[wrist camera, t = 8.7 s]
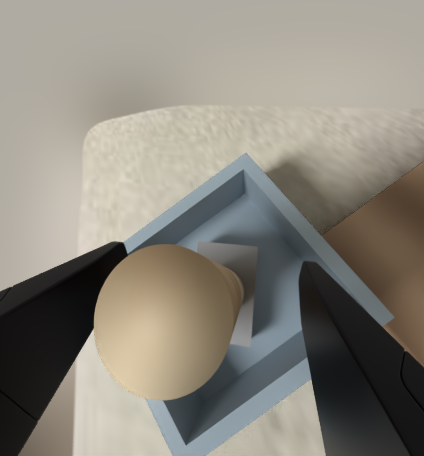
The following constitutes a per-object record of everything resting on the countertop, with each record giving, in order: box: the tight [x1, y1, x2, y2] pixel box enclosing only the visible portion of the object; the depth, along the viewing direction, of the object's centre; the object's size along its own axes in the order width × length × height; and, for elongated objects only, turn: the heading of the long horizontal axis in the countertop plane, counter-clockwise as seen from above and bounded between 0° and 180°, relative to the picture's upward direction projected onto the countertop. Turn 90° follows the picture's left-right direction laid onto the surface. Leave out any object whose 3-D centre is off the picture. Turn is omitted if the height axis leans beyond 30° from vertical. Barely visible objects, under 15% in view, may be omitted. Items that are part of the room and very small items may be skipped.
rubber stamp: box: [94, 241, 258, 400], centre depth 10 cm, size 6×4×12 cm, turn 173°
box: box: [123, 153, 395, 456], centre depth 14 cm, size 13×12×4 cm
